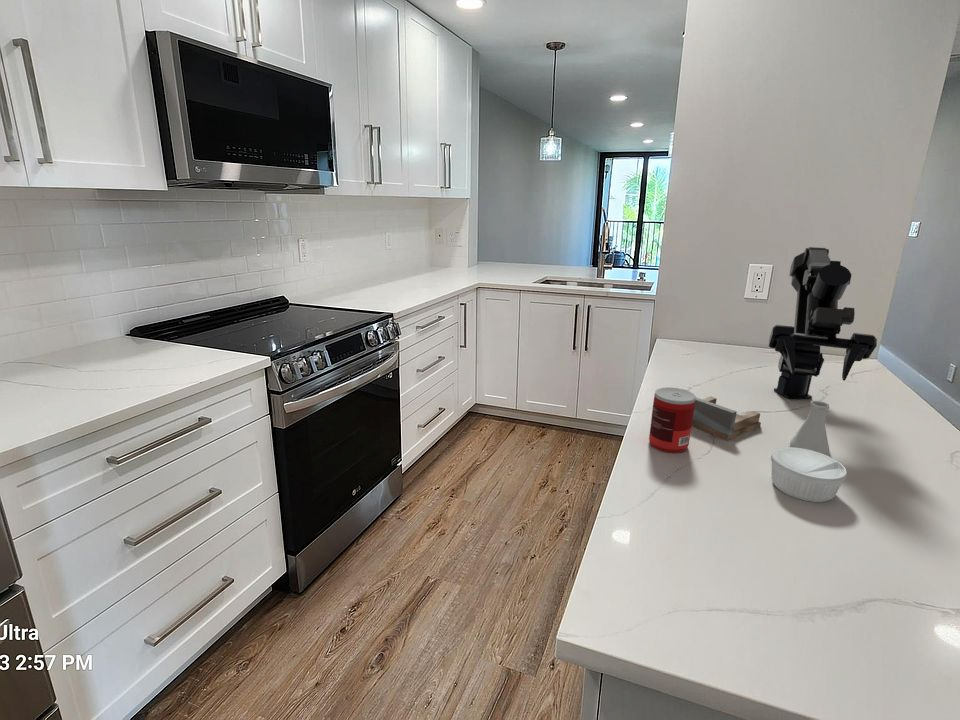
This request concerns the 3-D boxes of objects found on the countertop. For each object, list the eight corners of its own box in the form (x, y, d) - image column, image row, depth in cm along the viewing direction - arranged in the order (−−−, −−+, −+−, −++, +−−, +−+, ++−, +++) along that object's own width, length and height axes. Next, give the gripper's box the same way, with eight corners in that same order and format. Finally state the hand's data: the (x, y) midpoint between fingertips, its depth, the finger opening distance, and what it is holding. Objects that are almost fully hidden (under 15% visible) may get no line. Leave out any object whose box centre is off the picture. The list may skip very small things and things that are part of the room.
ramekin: (841, 514, 85) (848, 485, 84) (763, 493, 91) (768, 465, 89) (839, 484, 94) (846, 457, 93) (769, 467, 100) (774, 441, 98)
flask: (836, 460, 103) (848, 412, 100) (796, 455, 105) (806, 408, 102) (821, 444, 110) (832, 398, 107) (783, 440, 111) (793, 395, 108)
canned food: (687, 439, 110) (695, 390, 107) (688, 456, 103) (696, 403, 100) (649, 433, 113) (655, 384, 109) (647, 449, 105) (654, 398, 102)
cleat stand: (707, 407, 128) (710, 383, 126) (760, 426, 118) (765, 401, 116) (673, 418, 121) (676, 394, 119) (726, 440, 110) (731, 413, 109)
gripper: (780, 287, 113) (774, 350, 107) (886, 296, 106) (886, 363, 100) (771, 317, 123) (765, 376, 116) (868, 326, 115) (867, 390, 109)
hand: (818, 376), depth 110 cm, fingers open, 9 cm apart
